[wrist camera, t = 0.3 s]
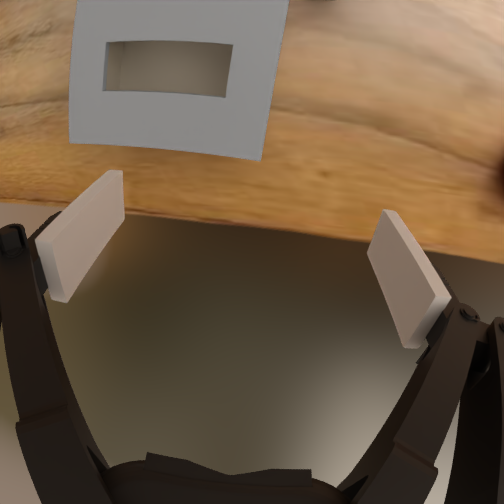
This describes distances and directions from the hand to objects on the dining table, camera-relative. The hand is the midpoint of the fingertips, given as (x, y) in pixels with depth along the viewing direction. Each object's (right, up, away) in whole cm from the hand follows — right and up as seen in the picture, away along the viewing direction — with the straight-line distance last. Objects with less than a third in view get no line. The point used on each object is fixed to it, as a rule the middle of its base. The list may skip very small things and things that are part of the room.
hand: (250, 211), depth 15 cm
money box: (-7, +21, +19) cm, 29 cm away
